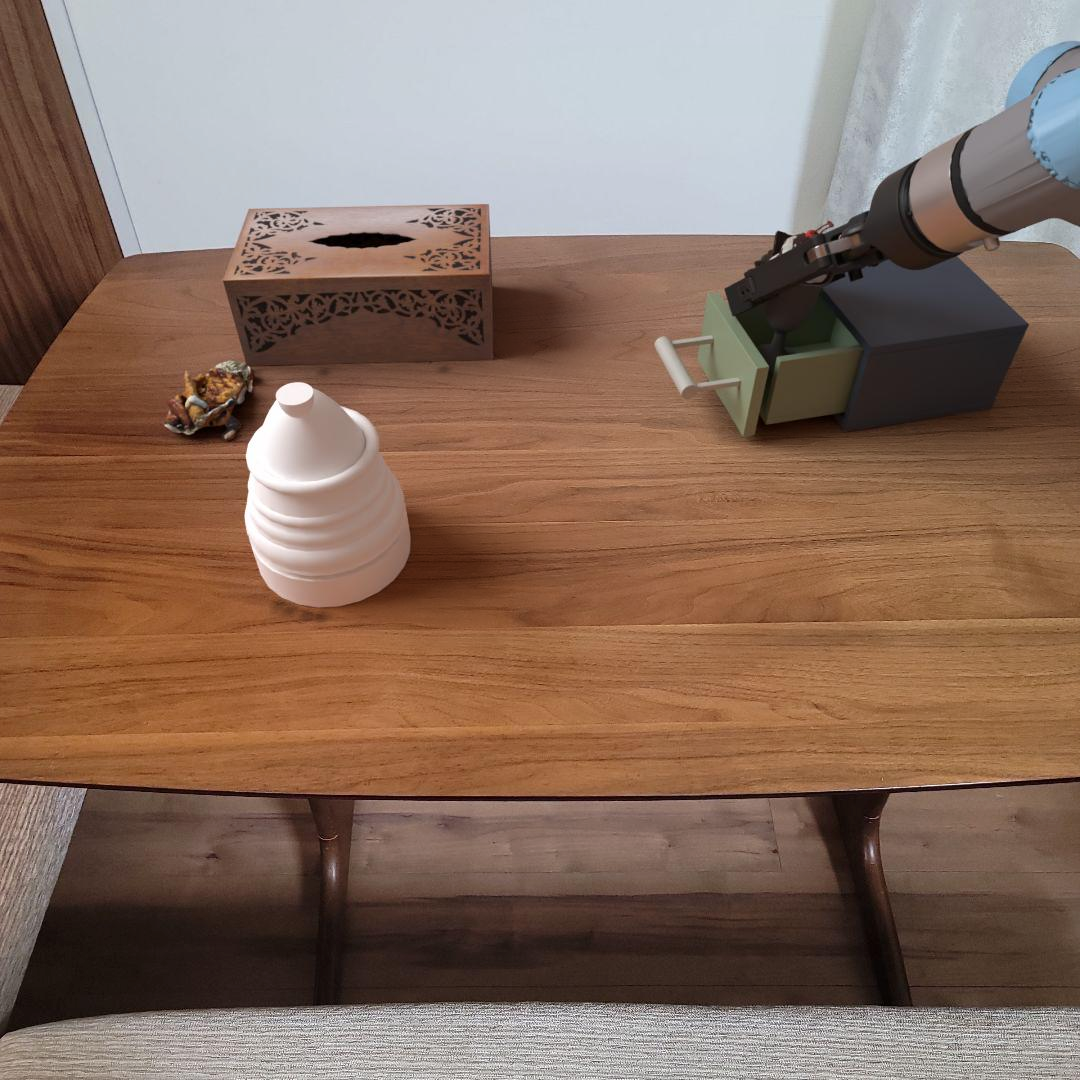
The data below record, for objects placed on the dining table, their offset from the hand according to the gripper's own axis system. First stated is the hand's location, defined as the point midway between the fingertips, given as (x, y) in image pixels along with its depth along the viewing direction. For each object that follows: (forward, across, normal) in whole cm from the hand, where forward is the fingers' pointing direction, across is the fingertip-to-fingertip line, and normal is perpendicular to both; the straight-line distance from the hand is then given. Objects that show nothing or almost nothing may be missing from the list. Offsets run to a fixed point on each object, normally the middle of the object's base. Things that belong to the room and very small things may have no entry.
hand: (763, 292), depth 88 cm
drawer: (+4, -1, -9) cm, 10 cm away
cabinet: (+2, +13, -12) cm, 17 cm away
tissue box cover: (+27, -30, +11) cm, 42 cm away
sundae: (+2, 0, -6) cm, 7 cm away
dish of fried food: (+23, -50, +7) cm, 55 cm away
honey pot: (+5, -45, -10) cm, 47 cm away
